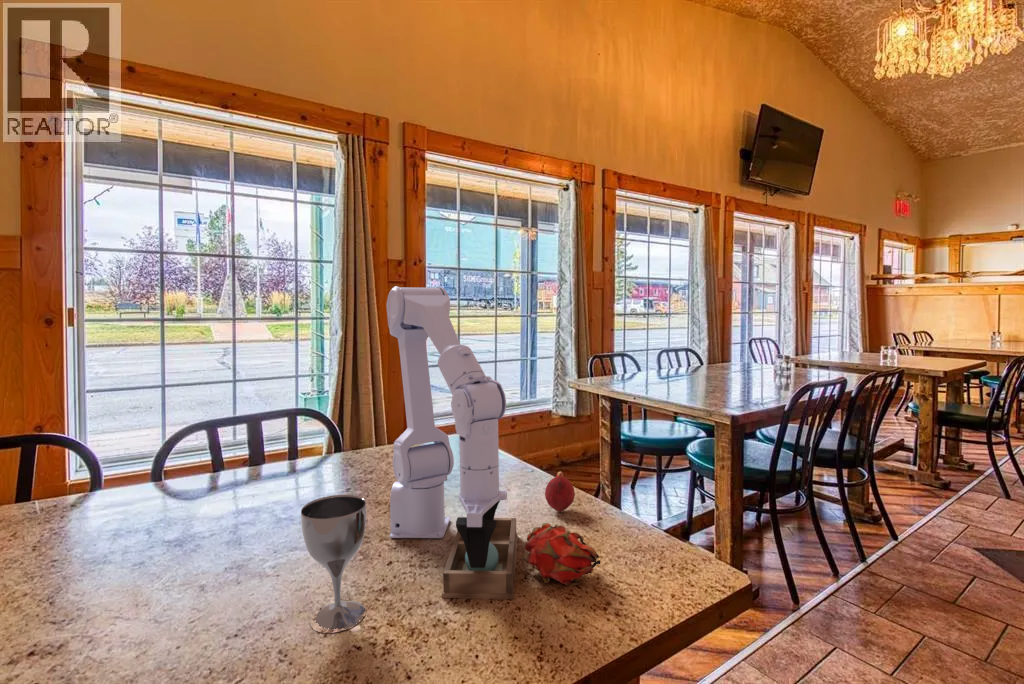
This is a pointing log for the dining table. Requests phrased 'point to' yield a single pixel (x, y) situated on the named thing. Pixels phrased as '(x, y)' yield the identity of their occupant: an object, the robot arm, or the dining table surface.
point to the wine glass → (335, 549)
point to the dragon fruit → (559, 554)
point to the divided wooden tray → (483, 582)
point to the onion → (559, 493)
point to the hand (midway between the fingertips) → (480, 553)
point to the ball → (491, 560)
